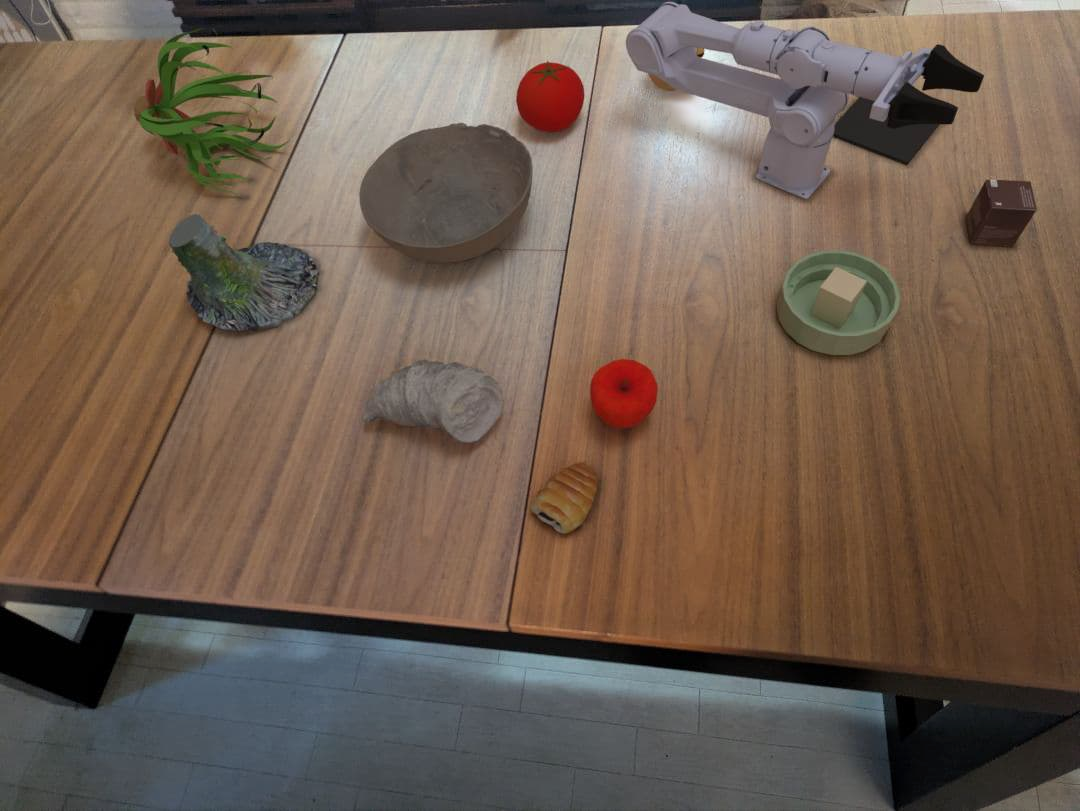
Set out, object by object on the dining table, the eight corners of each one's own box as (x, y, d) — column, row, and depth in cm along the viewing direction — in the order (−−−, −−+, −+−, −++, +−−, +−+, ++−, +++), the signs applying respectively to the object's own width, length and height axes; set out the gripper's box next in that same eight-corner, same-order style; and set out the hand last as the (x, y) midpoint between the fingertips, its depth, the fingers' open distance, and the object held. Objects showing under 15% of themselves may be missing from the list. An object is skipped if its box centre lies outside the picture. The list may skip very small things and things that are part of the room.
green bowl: (756, 323, 102) (762, 301, 97) (809, 258, 107) (817, 234, 103) (855, 375, 96) (866, 354, 91) (907, 304, 101) (919, 280, 97)
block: (809, 314, 101) (819, 287, 96) (825, 294, 102) (836, 266, 97) (839, 329, 99) (851, 302, 94) (854, 308, 101) (867, 280, 96)
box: (1013, 248, 104) (1038, 211, 98) (968, 245, 105) (990, 208, 99) (1007, 218, 107) (1032, 180, 101) (964, 215, 108) (985, 178, 102)
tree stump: (318, 329, 110) (238, 260, 95) (212, 361, 115) (120, 301, 100) (324, 240, 118) (252, 163, 103) (226, 273, 124) (144, 205, 108)
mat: (827, 134, 120) (828, 131, 120) (861, 96, 124) (862, 93, 124) (906, 165, 115) (908, 162, 114) (939, 124, 119) (941, 121, 118)
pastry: (568, 458, 93) (566, 445, 90) (612, 483, 91) (611, 470, 88) (527, 514, 90) (524, 502, 87) (571, 542, 87) (570, 531, 84)
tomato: (596, 111, 130) (594, 57, 121) (561, 151, 125) (556, 99, 116) (544, 95, 134) (538, 42, 125) (509, 133, 129) (500, 81, 120)
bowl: (565, 187, 120) (560, 138, 111) (492, 307, 108) (481, 262, 100) (426, 154, 128) (413, 106, 120) (345, 261, 116) (323, 216, 108)
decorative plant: (193, 140, 146) (326, 139, 140) (122, 205, 129) (270, 208, 123) (127, 2, 127) (277, -5, 121) (35, 58, 111) (204, 53, 105)
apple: (636, 452, 93) (637, 423, 86) (578, 424, 96) (575, 394, 89) (667, 401, 96) (670, 369, 90) (610, 376, 99) (610, 343, 93)
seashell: (363, 425, 99) (338, 387, 91) (434, 356, 104) (418, 314, 96) (443, 489, 93) (425, 454, 84) (516, 412, 98) (506, 372, 89)
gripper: (844, 74, 90) (952, 102, 84) (896, 17, 95) (1003, 39, 89) (834, 122, 96) (935, 152, 90) (884, 67, 101) (983, 91, 95)
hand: (968, 99), depth 90 cm, fingers open, 7 cm apart
